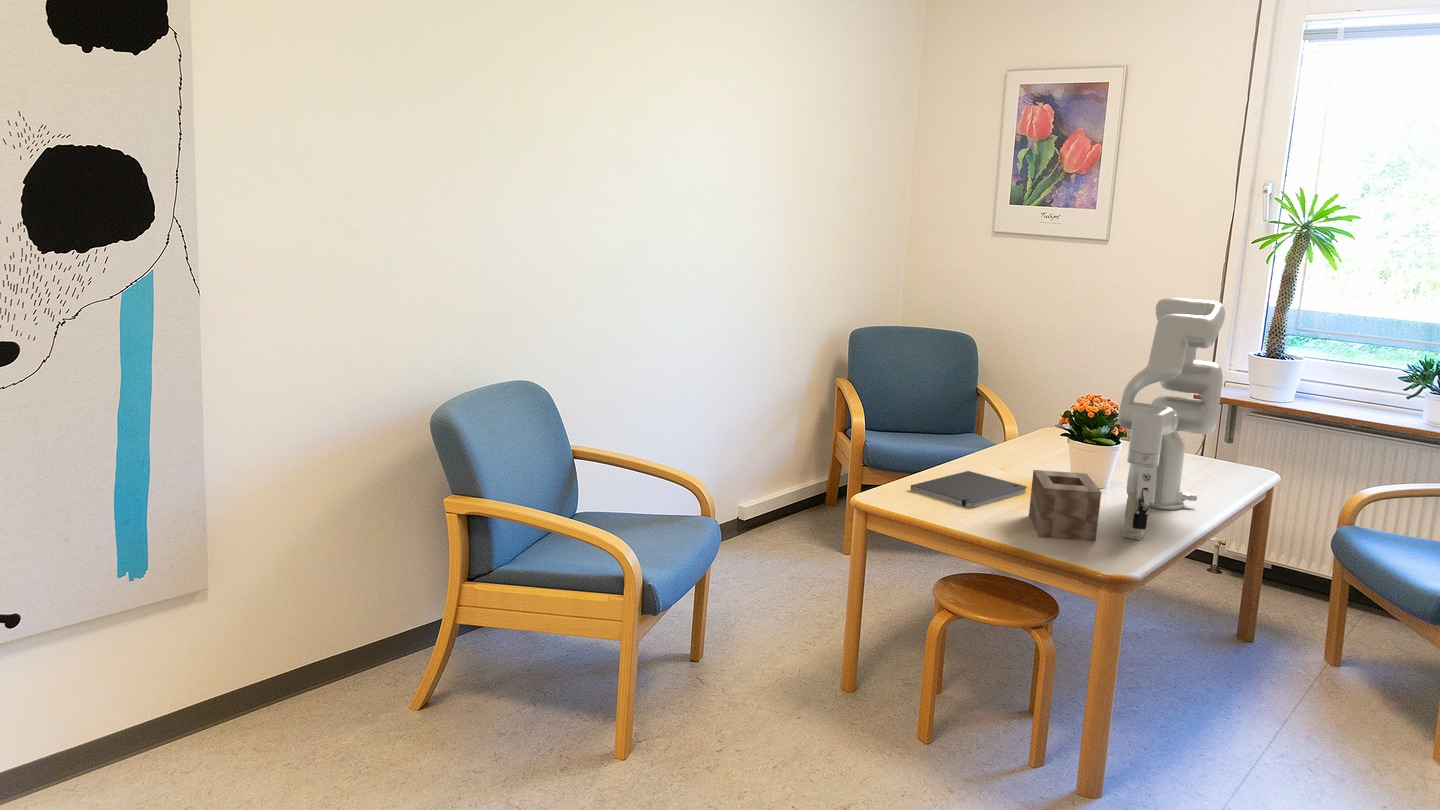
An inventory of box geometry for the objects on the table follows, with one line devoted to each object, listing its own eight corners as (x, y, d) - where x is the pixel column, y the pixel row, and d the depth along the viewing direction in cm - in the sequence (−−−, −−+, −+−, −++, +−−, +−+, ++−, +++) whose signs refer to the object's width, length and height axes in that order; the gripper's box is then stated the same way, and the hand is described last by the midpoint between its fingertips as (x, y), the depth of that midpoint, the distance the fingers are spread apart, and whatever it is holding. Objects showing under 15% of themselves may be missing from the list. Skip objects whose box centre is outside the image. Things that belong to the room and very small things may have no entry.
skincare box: (1140, 541, 264) (1146, 495, 261) (1122, 537, 266) (1128, 492, 263) (1144, 534, 269) (1150, 489, 267) (1127, 531, 271) (1133, 486, 269)
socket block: (1081, 519, 280) (1086, 473, 277) (1095, 541, 262) (1101, 492, 260) (1028, 515, 282) (1033, 469, 279) (1039, 536, 264) (1044, 488, 261)
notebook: (967, 477, 320) (910, 492, 302) (967, 470, 320) (910, 484, 301) (1028, 494, 304) (971, 510, 286) (1028, 486, 304) (972, 502, 286)
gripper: (1168, 467, 254) (1159, 535, 258) (1149, 450, 271) (1141, 514, 275) (1136, 465, 255) (1128, 533, 259) (1120, 448, 272) (1112, 512, 276)
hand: (1135, 523), depth 267 cm, fingers closed on skincare box, 7 cm apart
